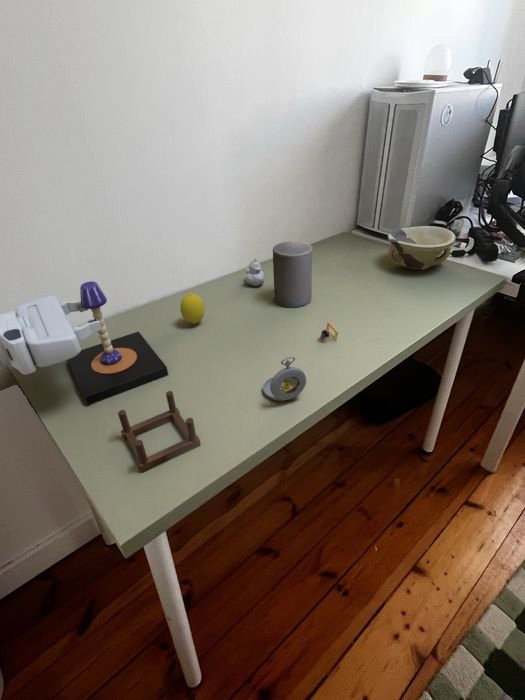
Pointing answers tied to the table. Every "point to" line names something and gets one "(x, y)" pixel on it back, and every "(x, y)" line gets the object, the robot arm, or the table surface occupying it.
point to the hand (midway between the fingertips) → (93, 313)
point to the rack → (142, 427)
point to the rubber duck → (254, 274)
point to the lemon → (192, 308)
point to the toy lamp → (99, 319)
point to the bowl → (420, 246)
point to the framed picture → (328, 332)
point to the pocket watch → (285, 383)
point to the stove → (116, 368)
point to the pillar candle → (292, 273)
